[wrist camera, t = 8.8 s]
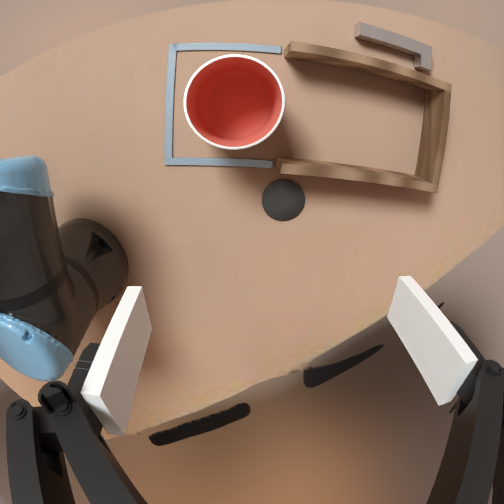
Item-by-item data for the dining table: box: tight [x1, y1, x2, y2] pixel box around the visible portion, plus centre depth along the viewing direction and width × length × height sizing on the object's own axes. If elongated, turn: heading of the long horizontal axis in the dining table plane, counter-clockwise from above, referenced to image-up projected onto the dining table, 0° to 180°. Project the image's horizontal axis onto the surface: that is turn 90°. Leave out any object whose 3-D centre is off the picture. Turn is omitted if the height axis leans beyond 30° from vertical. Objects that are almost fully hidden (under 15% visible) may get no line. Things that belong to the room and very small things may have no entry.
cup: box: [183, 54, 285, 150], centre depth 31 cm, size 10×10×10 cm
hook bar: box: [354, 22, 432, 71], centre depth 30 cm, size 12×4×2 cm, turn 86°
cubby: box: [276, 41, 451, 193], centre depth 34 cm, size 23×16×5 cm
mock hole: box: [262, 179, 305, 221], centre depth 41 cm, size 6×6×1 cm
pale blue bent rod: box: [165, 43, 281, 168], centre depth 35 cm, size 14×17×1 cm
